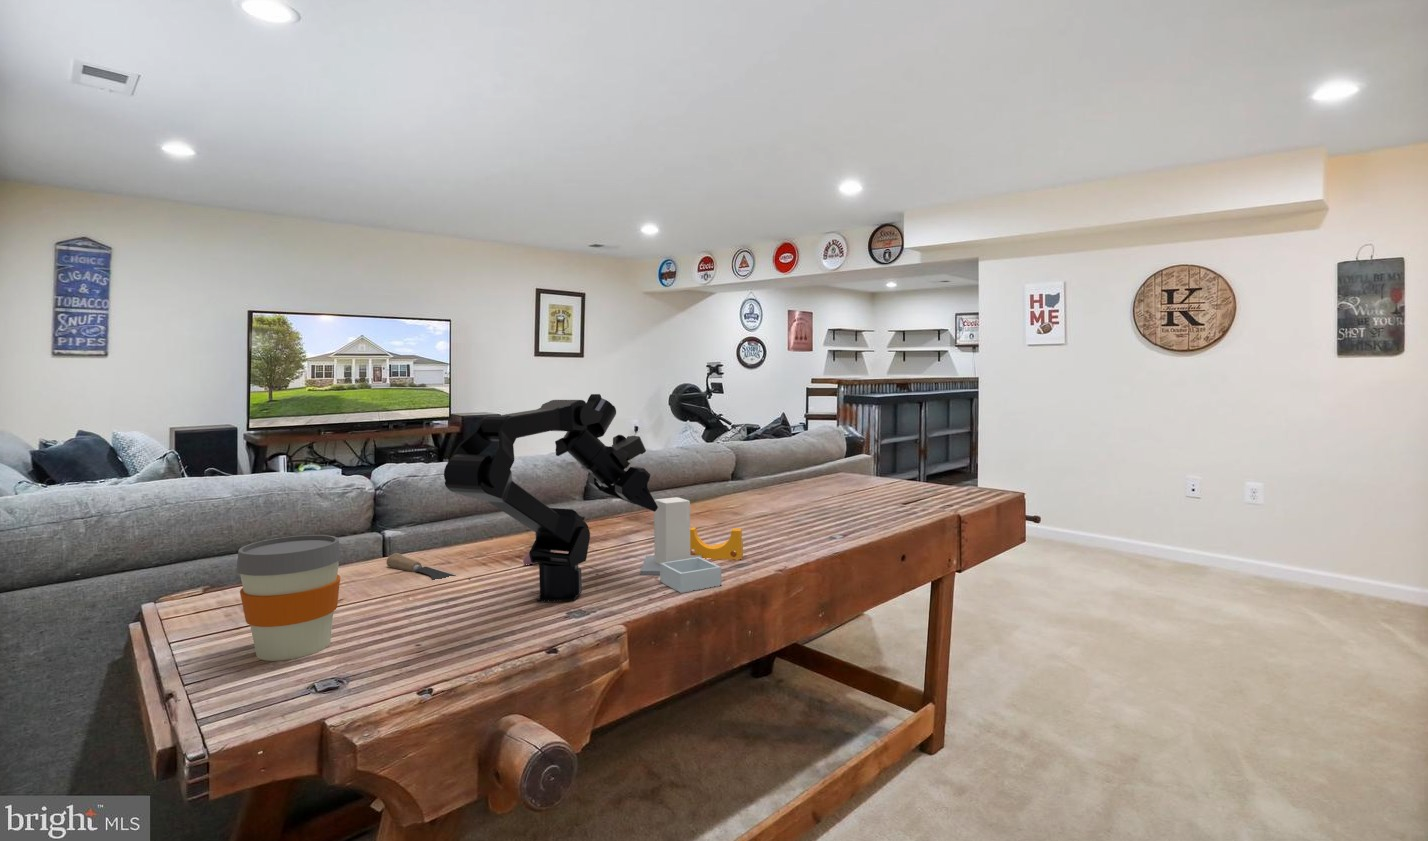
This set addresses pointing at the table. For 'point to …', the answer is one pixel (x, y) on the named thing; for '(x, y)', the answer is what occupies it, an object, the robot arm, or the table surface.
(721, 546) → the pipe clamp
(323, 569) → the reusable coffee cup
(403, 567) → the hand tool
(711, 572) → the sleeve
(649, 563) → the mat
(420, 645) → the table surface
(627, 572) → the table surface
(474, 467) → the robot arm
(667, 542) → the tall block
